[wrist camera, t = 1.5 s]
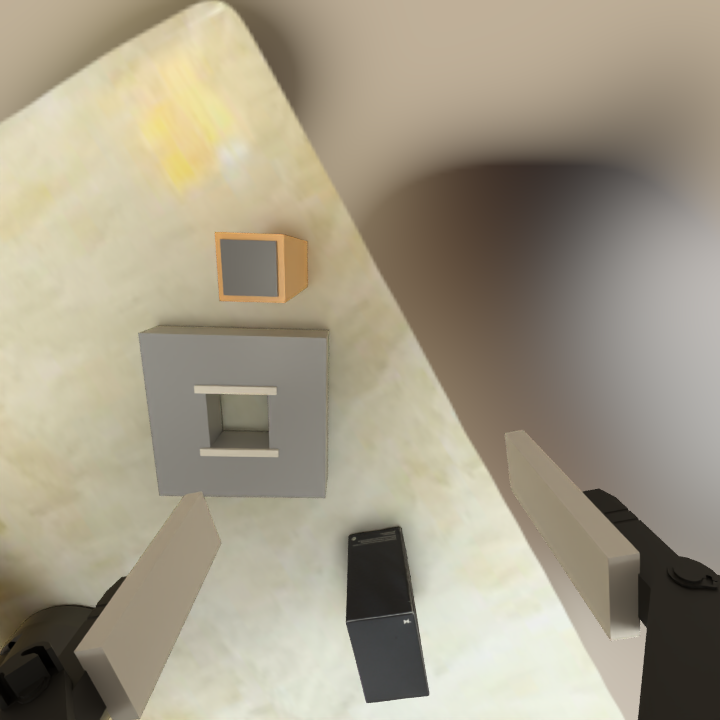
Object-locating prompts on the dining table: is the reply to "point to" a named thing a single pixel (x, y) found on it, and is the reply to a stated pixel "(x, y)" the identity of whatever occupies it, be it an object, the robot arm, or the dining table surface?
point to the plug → (260, 267)
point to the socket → (237, 376)
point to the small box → (384, 617)
